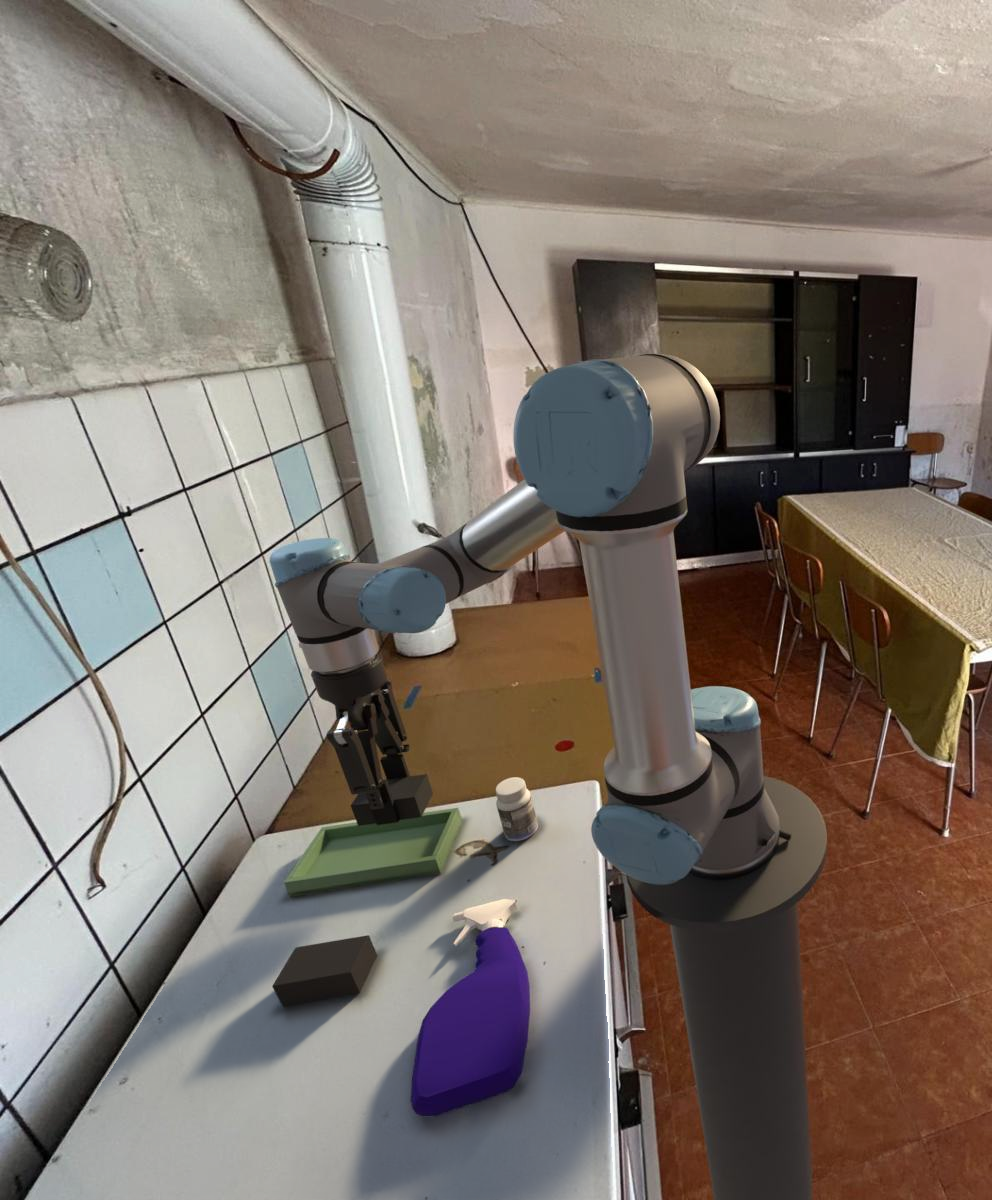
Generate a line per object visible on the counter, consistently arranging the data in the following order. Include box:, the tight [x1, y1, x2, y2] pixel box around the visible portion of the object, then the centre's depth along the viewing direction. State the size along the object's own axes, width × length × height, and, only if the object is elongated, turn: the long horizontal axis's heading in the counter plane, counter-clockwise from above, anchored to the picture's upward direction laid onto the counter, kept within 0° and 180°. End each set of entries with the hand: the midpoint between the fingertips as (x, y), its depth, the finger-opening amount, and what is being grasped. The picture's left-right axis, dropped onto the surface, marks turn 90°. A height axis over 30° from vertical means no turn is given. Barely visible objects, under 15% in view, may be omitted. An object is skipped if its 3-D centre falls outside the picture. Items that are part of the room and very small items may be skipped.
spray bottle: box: [410, 898, 531, 1118], centre depth 73 cm, size 3×11×24 cm
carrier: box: [283, 807, 463, 898], centre depth 94 cm, size 19×11×3 cm, turn 100°
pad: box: [350, 773, 434, 826], centre depth 91 cm, size 8×5×4 cm, turn 100°
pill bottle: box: [495, 776, 539, 842], centre depth 96 cm, size 5×5×8 cm
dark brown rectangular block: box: [272, 935, 378, 1008], centre depth 76 cm, size 8×5×4 cm, turn 100°
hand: (396, 807), depth 91 cm, fingers closed on pad, 5 cm apart
